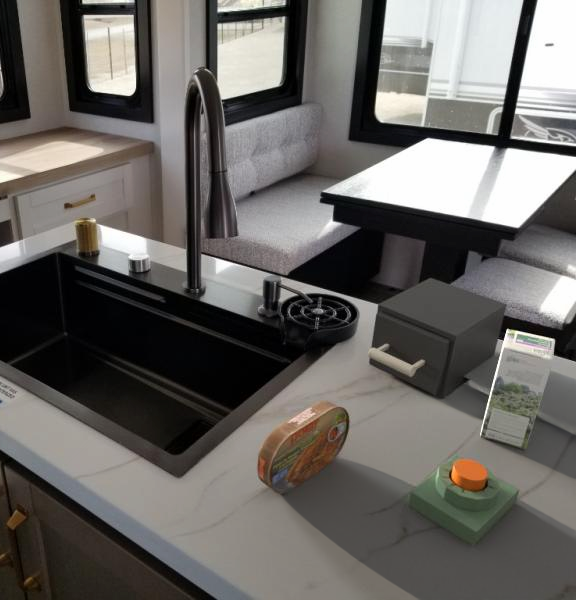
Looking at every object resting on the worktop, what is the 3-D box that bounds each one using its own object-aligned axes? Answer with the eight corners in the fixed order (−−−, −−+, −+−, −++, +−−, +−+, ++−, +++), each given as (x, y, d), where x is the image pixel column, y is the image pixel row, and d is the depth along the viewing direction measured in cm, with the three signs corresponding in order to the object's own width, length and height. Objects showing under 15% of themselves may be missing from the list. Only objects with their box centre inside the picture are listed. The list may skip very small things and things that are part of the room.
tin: (269, 506, 75) (273, 450, 72) (250, 491, 78) (253, 436, 74) (348, 451, 84) (355, 399, 80) (329, 439, 86) (335, 388, 82)
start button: (460, 466, 76) (463, 454, 75) (490, 482, 73) (493, 470, 73) (444, 479, 74) (447, 468, 73) (474, 497, 71) (477, 485, 71)
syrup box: (529, 427, 88) (556, 336, 81) (525, 452, 83) (554, 358, 77) (484, 415, 90) (507, 325, 84) (478, 438, 86) (502, 346, 79)
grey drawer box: (442, 399, 94) (456, 336, 89) (369, 363, 103) (378, 304, 98) (491, 364, 102) (506, 304, 97) (420, 333, 111) (430, 277, 106)
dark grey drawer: (419, 406, 91) (429, 353, 87) (352, 372, 99) (358, 322, 95) (482, 362, 101) (494, 313, 97) (416, 335, 109) (424, 288, 105)
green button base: (452, 467, 81) (458, 443, 79) (515, 503, 75) (523, 477, 74) (407, 505, 75) (413, 479, 73) (472, 546, 70) (480, 519, 68)
